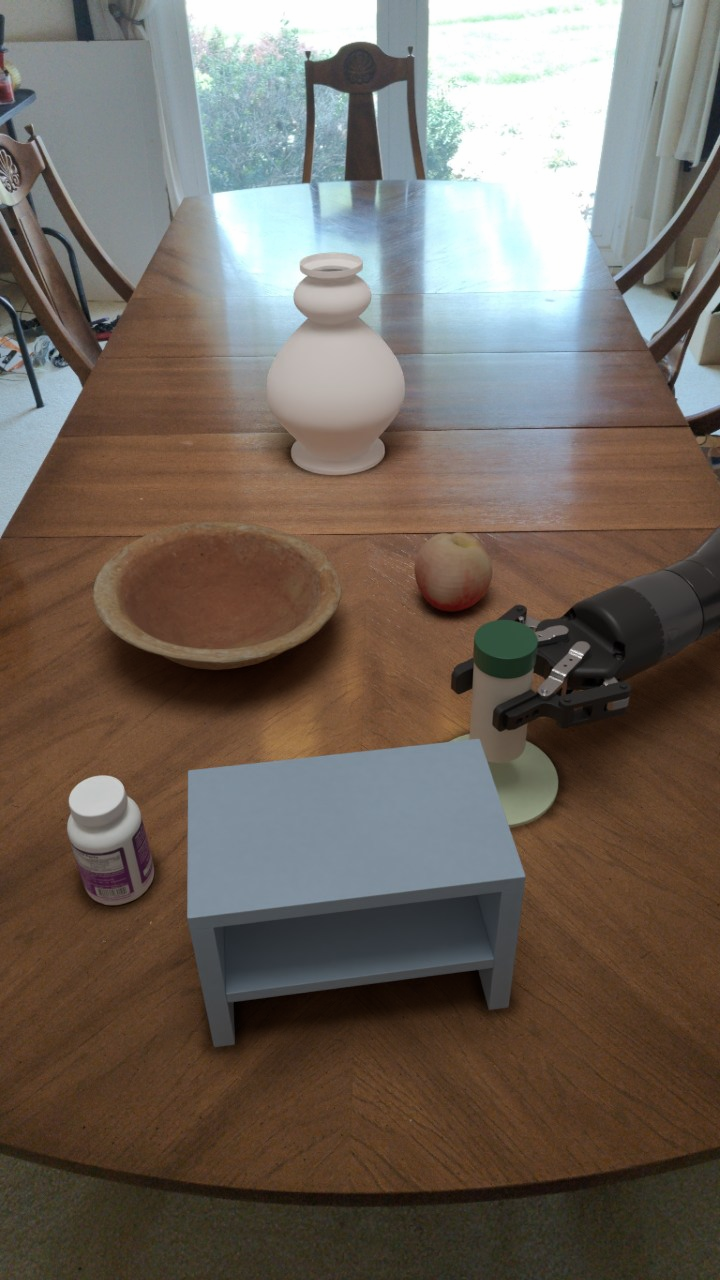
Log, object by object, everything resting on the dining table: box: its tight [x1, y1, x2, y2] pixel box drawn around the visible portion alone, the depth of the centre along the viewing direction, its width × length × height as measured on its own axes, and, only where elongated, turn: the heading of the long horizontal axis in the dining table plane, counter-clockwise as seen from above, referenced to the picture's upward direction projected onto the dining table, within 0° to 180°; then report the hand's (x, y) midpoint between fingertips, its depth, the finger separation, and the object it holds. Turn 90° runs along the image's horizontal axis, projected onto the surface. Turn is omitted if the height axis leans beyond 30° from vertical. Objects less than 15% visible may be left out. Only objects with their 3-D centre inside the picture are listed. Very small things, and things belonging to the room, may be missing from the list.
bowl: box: [92, 521, 343, 671], centre depth 97 cm, size 24×24×8 cm
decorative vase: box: [265, 251, 406, 476], centre depth 124 cm, size 18×18×25 cm
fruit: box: [414, 531, 493, 613], centre depth 102 cm, size 8×8×8 cm
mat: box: [448, 733, 559, 829], centre depth 84 cm, size 11×11×1 cm
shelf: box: [186, 739, 527, 1048], centre depth 66 cm, size 12×20×14 cm, turn 98°
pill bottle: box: [66, 774, 155, 906], centre depth 73 cm, size 5×5×10 cm
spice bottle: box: [469, 619, 538, 763], centre depth 78 cm, size 5×5×11 cm
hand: (474, 700), depth 76 cm, fingers closed on spice bottle, 4 cm apart
